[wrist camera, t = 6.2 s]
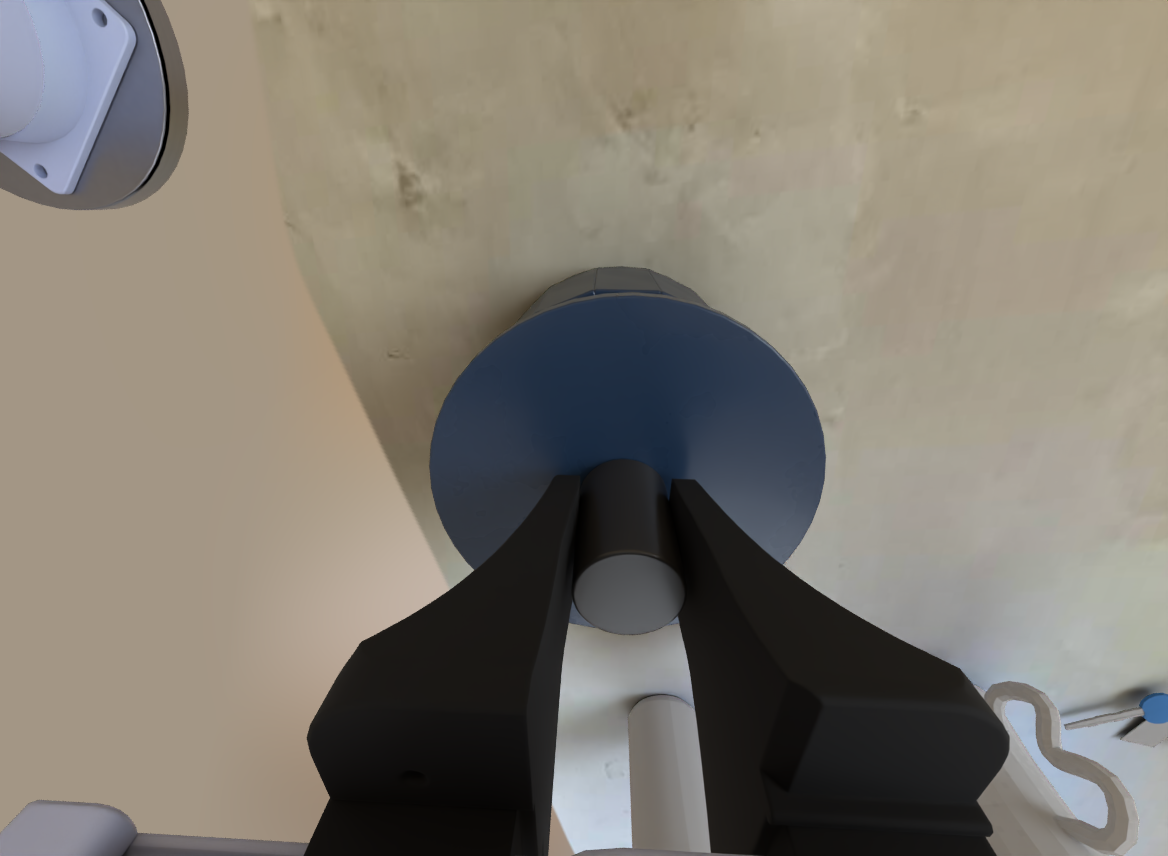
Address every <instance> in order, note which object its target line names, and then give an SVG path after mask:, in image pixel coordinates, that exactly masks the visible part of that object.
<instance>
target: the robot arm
mask: <svg viewBox="0 0 1168 856" xmlns="http://www.w3.org/2000/svg"><path fill="white" fill-rule="evenodd" d="M103 14H105V16H106V18H107V25H106V26H105V24H104V22H103V19H102V18H103ZM135 44H136V36H135V32H134V30H133V28H132V26H131V25H130V24H129V23H128V22H127V21H126V20H125V19H124V18H123V17H122V16H121V15H120V14H119V13H118V12H117V11H116V10H114V9H113V8H112V7H111V6H110V5H109V4H108V3H107V2H106V1H105V0H0V152H1V153H3V154H4V155H5V156H7V157H8V158H9V159H11V160H12V161H13V162H14V163H16V164H17V165H18V166H20V167H21V168H22V169H23V170H25V171H26V172H27V173H29V174H30V175H31V176H33V177H34V178H35V179H36V180H38V181H39V182H40V183H42V184H43V185H44V186H45V187H47V188H48V189H49V190H51V191H52V192H54V193H56V194H71V193H72V192H73V191H74V189H75V187H76V184H77V182H78V180H79V177H80V175H81V173H82V170H83V168H84V165H85V163H86V161H87V158H88V156H89V154H90V151H91V149H92V147H93V144H94V142H95V139H96V137H97V135H98V132H99V130H100V128H101V125H102V123H103V121H104V118H105V116H106V113H107V111H108V109H109V106H110V104H111V102H112V99H113V97H114V95H115V92H116V90H117V87H118V85H119V83H120V80H121V78H122V76H123V73H124V71H125V69H126V66H127V64H128V61H129V59H130V57H131V54H132V52H133V50H134V47H135ZM44 168H45V169H46V172H47V174H46V173H45V171H44ZM579 504H580V475H556V476H555V477H554V478H553V479H552V481H551V483H550V485H549V486H548V488H547V490H546V491H545V493H544V494H543V496H542V497H541V499H540V500H539V501H538V503H537V504H536V506H535V507H534V508H533V509H532V511H531V512H530V513H529V515H528V516H527V517H526V519H525V520H524V521H523V522H522V523H521V525H520V526H519V527H518V528H517V529H516V530H515V531H514V532H513V534H512V535H511V536H510V537H509V538H508V539H507V540H506V541H505V542H504V543H503V544H502V546H501V547H500V548H499V549H498V550H497V551H496V552H494V553H493V554H492V555H491V556H490V557H489V558H488V559H487V560H486V561H485V562H484V563H483V564H481V565H480V566H479V567H478V568H477V569H476V570H474V571H473V572H472V573H471V574H470V575H468V576H467V577H466V578H465V579H463V580H462V581H461V582H460V583H458V584H457V585H456V586H454V587H453V588H452V589H450V590H449V591H448V592H446V593H445V594H443V595H442V596H440V597H439V598H437V599H436V600H434V601H433V602H431V603H430V604H428V605H427V606H425V607H423V608H422V609H420V610H419V611H417V612H415V613H414V614H412V615H411V616H409V617H407V618H405V619H403V620H401V621H400V622H398V623H396V624H394V625H392V626H390V627H389V628H387V629H385V630H383V631H381V632H380V633H377V634H376V635H374V636H372V637H370V638H368V639H366V640H364V641H362V642H361V643H360V644H359V646H358V647H357V649H356V650H355V652H354V654H353V655H352V656H351V658H350V659H349V660H348V662H347V663H346V664H345V666H344V667H343V669H342V671H341V672H340V674H339V675H338V677H337V678H336V680H335V682H334V684H333V685H332V687H331V689H330V691H329V692H328V694H327V696H326V698H325V700H324V701H323V703H322V705H321V707H320V708H319V710H318V712H317V714H316V715H315V717H314V719H313V721H312V723H311V725H310V728H309V731H308V735H307V741H308V746H309V750H310V753H311V756H312V758H313V761H314V763H315V765H316V767H317V770H318V772H319V774H320V776H321V779H322V781H323V783H324V785H325V787H326V790H327V792H328V794H329V796H330V799H329V801H328V803H327V806H326V808H325V810H324V812H323V814H322V816H321V819H320V821H319V823H318V825H317V827H316V829H315V832H314V834H313V836H312V838H311V840H310V843H297V842H280V841H263V840H246V839H231V838H214V837H198V836H181V835H163V834H147V833H137V829H136V827H135V825H134V823H133V822H132V820H131V819H130V818H129V817H128V815H126V814H125V813H124V812H122V811H121V810H119V809H117V808H114V807H111V806H109V805H104V804H98V803H83V802H66V801H49V800H36V801H34V802H31V803H28V804H27V805H26V806H25V808H24V809H23V810H22V811H21V812H20V813H19V814H18V815H17V816H16V817H15V818H14V819H13V820H12V821H11V822H10V823H9V824H8V825H7V826H6V827H5V828H4V829H3V831H2V832H1V833H0V856H548V850H549V834H550V820H551V806H552V792H553V778H554V764H555V750H556V736H557V723H558V710H559V697H560V684H561V672H562V662H563V654H564V647H565V641H566V635H567V629H568V624H569V618H570V612H571V606H572V594H571V588H572V576H573V565H574V554H575V542H576V532H577V526H578V516H579ZM669 504H670V509H671V513H672V518H673V523H674V527H675V532H676V537H677V542H678V546H679V551H680V556H681V560H682V565H683V570H684V574H685V579H686V584H687V598H686V602H685V605H684V607H683V609H682V610H681V612H680V614H679V615H678V620H679V624H680V628H681V633H682V637H683V641H684V645H685V650H686V654H687V659H688V664H689V670H690V676H691V683H692V691H693V698H694V706H695V713H696V721H697V730H698V738H699V746H700V754H701V763H702V772H703V781H704V791H705V800H706V809H707V819H708V829H709V840H710V850H711V853H703V852H686V851H669V850H652V849H636V848H614V849H600V850H585V851H583V852H580V853H578V854H575V855H573V856H997V855H996V853H995V852H994V850H993V848H992V847H991V845H990V843H989V842H988V840H987V838H986V837H990V836H991V835H992V834H993V828H992V824H991V823H990V821H989V819H988V818H987V816H986V815H985V813H984V811H983V810H982V808H981V806H980V805H979V803H978V802H977V800H978V798H979V797H980V796H981V794H982V793H983V792H984V790H985V789H986V788H987V787H988V785H989V784H990V783H991V781H992V780H993V779H994V777H995V776H996V775H997V774H998V772H999V771H1000V770H1001V768H1002V766H1003V764H1004V762H1005V761H1006V759H1007V757H1008V754H1009V750H1010V736H1009V734H1008V732H1007V730H1006V729H1005V727H1004V725H1003V723H1002V722H1001V721H1000V720H999V718H998V717H997V716H996V714H995V713H994V712H993V710H992V709H991V708H990V706H989V705H988V704H987V702H986V701H985V700H984V698H983V697H982V696H981V695H980V693H979V692H978V691H977V689H976V688H975V687H974V685H973V684H972V683H971V682H970V680H969V679H968V678H967V677H966V675H965V674H964V673H963V672H962V671H961V669H960V668H958V667H956V666H954V665H951V664H949V663H947V662H945V661H943V660H941V659H939V658H937V657H935V656H933V655H931V654H929V653H927V652H925V651H923V650H921V649H918V648H916V647H914V646H912V645H910V644H908V643H906V642H904V641H902V640H900V639H898V638H896V637H894V636H892V635H891V634H889V633H887V632H885V631H883V630H882V629H880V628H878V627H876V626H874V625H873V624H871V623H869V622H867V621H865V620H864V619H862V618H860V617H858V616H857V615H855V614H853V613H852V612H850V611H848V610H847V609H845V608H843V607H842V606H840V605H839V604H837V603H836V602H834V601H833V600H831V599H829V598H828V597H826V596H825V595H823V594H822V593H820V592H819V591H817V590H816V589H814V588H813V587H811V586H810V585H809V584H807V583H806V582H804V581H803V580H801V579H800V578H799V577H797V576H796V575H795V574H794V573H792V572H791V571H790V570H788V569H787V568H786V567H784V566H783V565H782V564H780V563H779V562H778V561H777V560H775V559H774V558H773V557H772V556H771V555H769V554H768V553H767V552H766V551H765V550H764V549H763V548H761V547H760V546H759V545H758V544H757V543H756V542H755V541H754V540H753V539H751V538H750V537H749V536H748V535H747V534H746V533H745V532H744V531H743V530H742V529H741V528H740V527H739V526H738V525H737V524H736V523H735V522H734V521H733V520H732V519H731V518H730V517H729V516H728V515H727V514H726V513H725V512H724V511H723V510H722V508H721V507H720V506H719V505H718V504H717V503H716V502H715V501H714V500H713V499H712V497H711V496H710V495H709V494H708V493H707V492H706V491H705V490H704V488H703V487H702V486H701V485H700V484H699V483H698V482H697V481H696V480H695V479H672V481H671V489H670V497H669Z"/></svg>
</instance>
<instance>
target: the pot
mask: <svg viewBox="0 0 1168 856" xmlns="http://www.w3.org/2000/svg"><path fill="white" fill-rule="evenodd" d="M627 292H638V293H649V294H661V295H667V296H672V297H676V298H680V299H685V300H689V301H694V302H696V303H699V304H702V305H704V306H707V307H709V306H708V305H707V304H706V303H705V302H704V301H703V300H702V299H701V298H700V297H699V296H698V295H697V294H696V293H695V292H694V291H693V290H691V289H690V288H688V287H686V286H684V285H682V284H680V283H678V282H676V281H674V280H672V279H671V278H669V277H666V276H664V275H661V274H659V273H656V272H654V271H652V270H650V269H646V268H632V267H604V268H594V269H592V270H589V271H586V272H583V273H580V274H577V275H574V276H572V277H570V278H568V279H566V280H564V281H562V282H560V283H558V284H555V285H553V286H551V287H549V288H548V290H547V291H546V292H545V293H544V294H543V295H542V296H541V297H540V298H539V299H538V300H537V301H535V303H534V304H533V305H532V306H531V307H530V308H529V309H528V310H527V311H526V312H525V313H524V314H523V315H522V316H521V318H520V319H519V320H518V321H517V322H516V323H518V322H519V321H521V320H523V319H525V318H527V317H529V316H531V315H533V314H535V313H537V312H539V311H541V310H543V309H545V308H548V307H551V306H554V305H557V304H560V303H563V302H566V301H570V300H573V299H577V298H582V297H588V296H593V295H599V294H606V293H627ZM709 308H710V307H709Z"/></svg>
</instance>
